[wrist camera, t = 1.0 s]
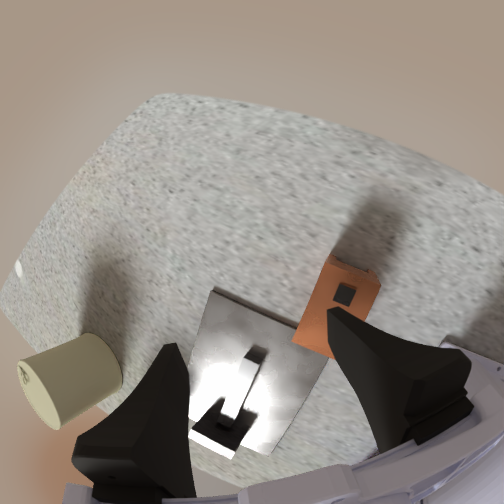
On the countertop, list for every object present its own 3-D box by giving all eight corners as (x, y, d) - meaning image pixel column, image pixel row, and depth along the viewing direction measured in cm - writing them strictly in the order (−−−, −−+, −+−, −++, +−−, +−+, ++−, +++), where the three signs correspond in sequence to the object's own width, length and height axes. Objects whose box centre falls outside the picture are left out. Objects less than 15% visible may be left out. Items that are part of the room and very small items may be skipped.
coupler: (334, 344, 23) (331, 365, 20) (269, 454, 27) (258, 477, 23) (212, 290, 27) (190, 300, 23) (177, 407, 30) (159, 425, 26)
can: (90, 319, 33) (17, 346, 22) (132, 376, 32) (63, 420, 20) (72, 352, 36) (11, 379, 24) (108, 401, 34) (51, 439, 23)
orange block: (374, 271, 22) (381, 285, 17) (345, 336, 23) (342, 363, 18) (329, 253, 23) (324, 262, 18) (302, 318, 24) (290, 342, 19)
